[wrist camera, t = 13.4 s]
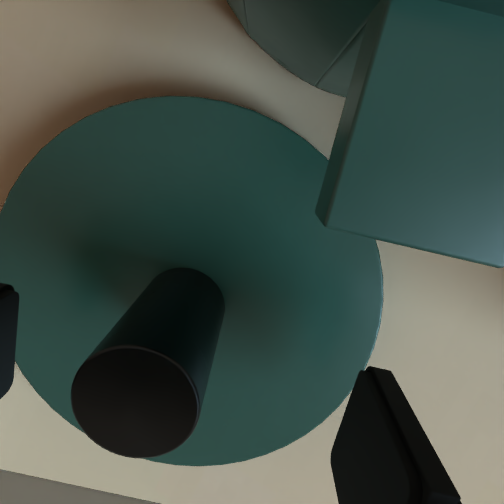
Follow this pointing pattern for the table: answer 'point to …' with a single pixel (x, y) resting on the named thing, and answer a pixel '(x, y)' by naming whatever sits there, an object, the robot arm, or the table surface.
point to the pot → (403, 114)
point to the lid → (186, 282)
